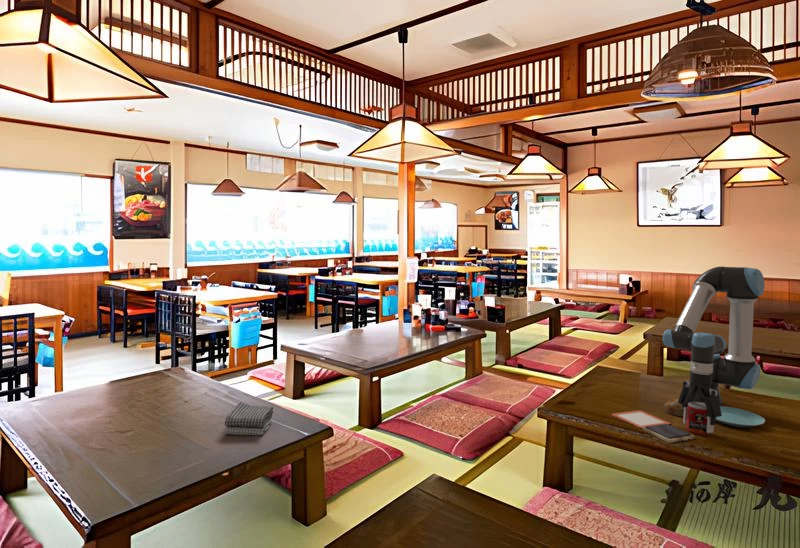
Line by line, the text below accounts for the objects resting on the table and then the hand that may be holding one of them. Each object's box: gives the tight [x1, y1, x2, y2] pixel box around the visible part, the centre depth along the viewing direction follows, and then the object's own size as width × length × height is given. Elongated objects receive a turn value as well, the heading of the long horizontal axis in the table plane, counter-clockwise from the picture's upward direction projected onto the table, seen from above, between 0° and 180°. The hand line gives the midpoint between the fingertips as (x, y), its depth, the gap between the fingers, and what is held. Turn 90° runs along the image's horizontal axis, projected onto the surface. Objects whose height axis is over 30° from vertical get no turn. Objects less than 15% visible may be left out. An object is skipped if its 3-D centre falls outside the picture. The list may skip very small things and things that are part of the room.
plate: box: [716, 405, 766, 428], centre depth 207 cm, size 22×22×3 cm
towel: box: [224, 401, 274, 436], centre depth 190 cm, size 15×18×8 cm
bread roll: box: [663, 398, 684, 417], centre depth 216 cm, size 10×10×8 cm
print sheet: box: [610, 409, 672, 429], centre depth 206 cm, size 16×16×1 cm
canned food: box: [686, 402, 710, 436], centre depth 194 cm, size 8×8×11 cm
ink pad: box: [641, 424, 696, 444], centre depth 191 cm, size 13×13×2 cm
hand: (697, 427), depth 194 cm, fingers open, 10 cm apart
